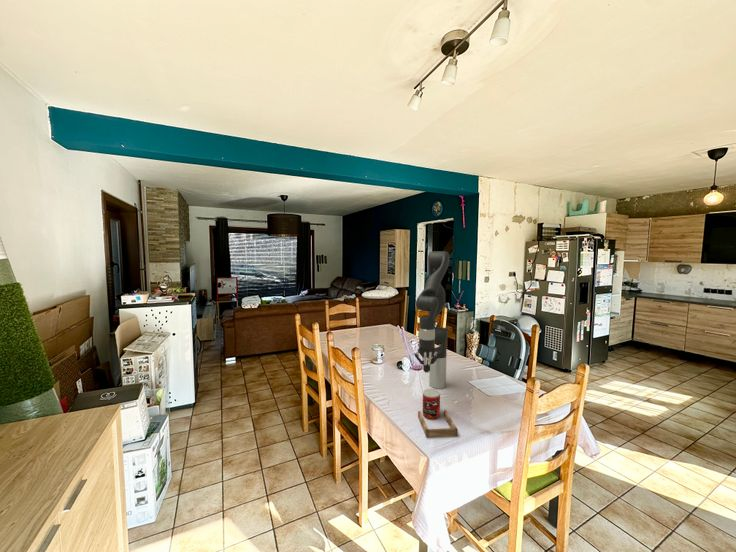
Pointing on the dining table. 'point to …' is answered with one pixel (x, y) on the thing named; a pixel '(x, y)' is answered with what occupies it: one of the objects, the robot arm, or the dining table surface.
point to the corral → (439, 432)
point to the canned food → (431, 403)
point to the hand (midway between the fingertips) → (426, 371)
